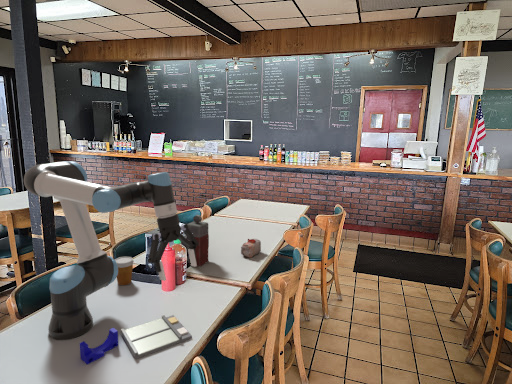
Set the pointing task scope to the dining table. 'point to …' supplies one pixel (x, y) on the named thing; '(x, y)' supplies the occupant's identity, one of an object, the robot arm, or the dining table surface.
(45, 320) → the dining table surface
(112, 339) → the cable clip
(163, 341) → the board
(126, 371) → the dining table surface
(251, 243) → the food item
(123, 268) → the disposable coffee cup
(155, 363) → the dining table surface
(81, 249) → the robot arm
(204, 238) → the dark red bottle
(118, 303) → the dining table surface
